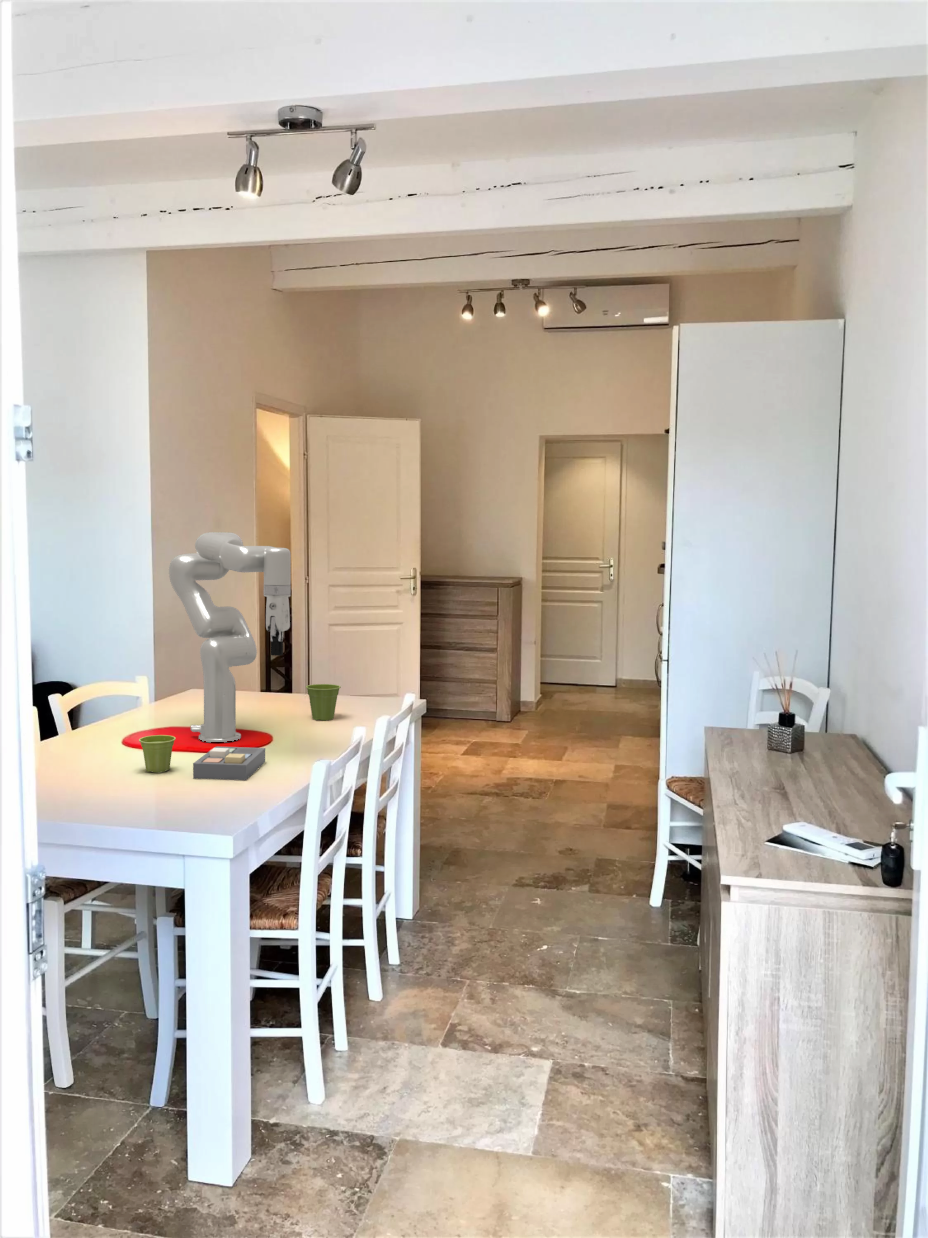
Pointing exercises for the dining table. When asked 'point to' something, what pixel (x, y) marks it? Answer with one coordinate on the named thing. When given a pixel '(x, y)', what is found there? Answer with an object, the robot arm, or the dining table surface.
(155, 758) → the plant pot
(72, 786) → the dining table surface
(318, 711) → the plant pot
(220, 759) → the key terracotta
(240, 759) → the key ochre
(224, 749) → the key cream
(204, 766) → the keypad
